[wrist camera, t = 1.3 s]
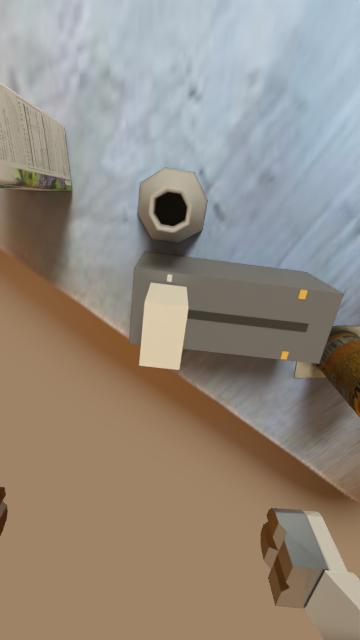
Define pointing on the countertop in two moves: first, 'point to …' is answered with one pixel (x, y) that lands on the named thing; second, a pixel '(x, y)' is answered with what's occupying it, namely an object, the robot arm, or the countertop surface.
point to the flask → (172, 205)
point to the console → (242, 307)
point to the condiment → (339, 364)
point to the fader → (163, 326)
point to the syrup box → (31, 147)
